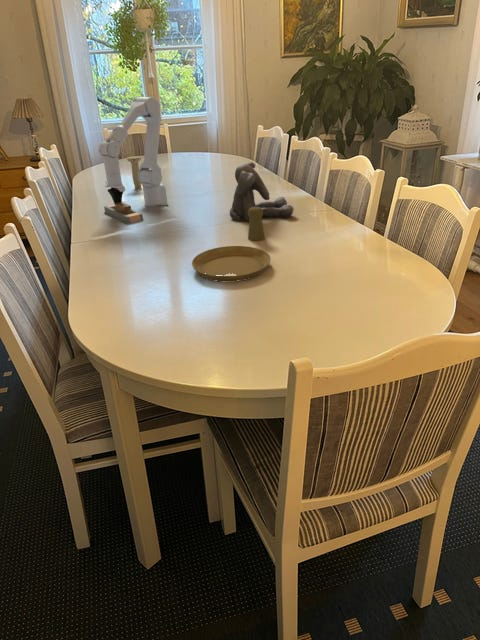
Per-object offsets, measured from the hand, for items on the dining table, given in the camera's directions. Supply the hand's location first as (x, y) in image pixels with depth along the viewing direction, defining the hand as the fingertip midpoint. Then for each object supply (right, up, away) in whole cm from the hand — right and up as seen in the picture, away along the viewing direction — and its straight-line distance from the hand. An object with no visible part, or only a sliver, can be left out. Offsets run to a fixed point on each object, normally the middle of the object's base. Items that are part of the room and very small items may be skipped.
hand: (118, 206), depth 214 cm
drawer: (+3, -5, -2) cm, 6 cm away
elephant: (+59, -5, -6) cm, 59 cm away
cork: (+56, -18, -30) cm, 66 cm away
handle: (-1, +19, +45) cm, 48 cm away
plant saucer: (+48, -32, -54) cm, 79 cm away
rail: (+2, -5, -1) cm, 6 cm away
